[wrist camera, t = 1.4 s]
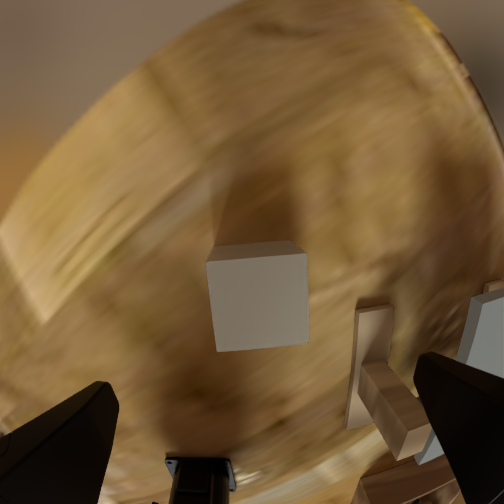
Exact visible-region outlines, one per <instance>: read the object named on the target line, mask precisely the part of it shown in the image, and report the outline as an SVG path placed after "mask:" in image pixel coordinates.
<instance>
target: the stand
mask: <svg viewBox="0 0 504 504" xmlns="http://www.w3.org/2000/svg"><path fill="white" fill-rule="evenodd" d="M500 288H504V280H501V279H499V280H496V281H492V282H488V283H484V288H483V294H484V293H487V292H490V291H494V290H497V289H500ZM393 318H394V306H392V305H391V304H385V305H379V306H374V307H367V308H361V309H355V323H354V339H353V352H352V364H351V374H350V383H349V391H348V399H347V407H346V414H345V420H344V426H345V428H346V430H348V429H353V428H357V427H361V426H365V425H368V424H372V423H375V424H376V426H377V428H378V430H379V431H380V433H381V435H382V436H383V438H384V440H385V442H386V443H387V445H388V447H389V449H390V450H391V452H392V454H393V456H394V457H395V459H396V461H398V460H401V459H403V458H406V457H409V456H411V455H414V454H416V453H419V452H421V451H422V450H423V448H424V446H425V444H426V441H427V439H428V437H429V434H430V432H431V430H432V427H431V425H430V423H429V420H428V418H427V415H426V413H425V410H424V407H423V406H422V405H421V403H420V402H419V401H418V400H417V399H416V397H415V396H414V395H413V394H412V393H411V391H410V390H409V389H408V388H407V387H406V386H405V384H404V383H403V382H402V381H401V380H400V378H399V377H398V376H397V375H396V374H395V373H394V371H393V370H392V369H391V368H390V367H389V366H388V358H389V351H390V344H391V336H392V328H393Z"/></svg>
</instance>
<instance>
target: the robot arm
mask: <svg viewBox="0 0 504 504" xmlns="http://www.w3.org/2000/svg"><path fill="white" fill-rule="evenodd" d="M413 380H414V384H415V387H416V389H417V392H418V394H419V397H420V399H421V402H422V405H423V407H424V410H425V413H426V415H427V418H428V420H429V423H430V425H431V427H432V429H433V431H434V433H435V435H436V437H437V439H438V441H439V443H440V445H441V447H442V450H443V452H444V454H445V456H446V458H447V460H448V462H449V465H450V467H451V469H452V471H453V474H454V476H455V478H456V481H457V483H458V485H459V488H460V490H461V493H462V495H463V498H464V500H465V503H466V504H504V378H502V377H499V376H496V375H493V374H491V373H488V372H485V371H483V370H480V369H477V368H475V367H472V366H469V365H467V364H464V363H461V362H459V361H456V360H453V359H451V358H448V357H446V356H443V355H440V354H438V353H435V352H432V351H430V352H426V353H423V354H421V355H420V356H419V357H418V361H417V364H416V368H415V372H414V376H413ZM118 413H119V402H118V400H117V398H116V395H115V393H114V391H113V389H112V386H111V385H110V383H108V382H103V381H96V382H94V383H92V384H91V385H89V386H87V387H86V388H84V389H82V390H81V391H79V392H78V393H76V394H74V395H73V396H71V397H69V398H68V399H66V400H64V401H63V402H61V403H60V404H58V405H56V406H55V407H53V408H51V409H50V410H48V411H46V412H45V413H43V414H41V415H39V416H38V417H36V418H34V419H33V420H31V421H29V422H28V423H26V424H24V425H22V426H21V427H19V428H17V429H16V430H14V431H12V433H9V434H7V435H5V436H3V437H2V438H0V504H97V503H98V499H99V495H100V491H101V487H102V484H103V480H104V476H105V472H106V469H107V465H108V462H109V458H110V454H111V451H112V446H113V440H114V435H115V429H116V424H117V418H118ZM165 464H166V466H167V468H168V470H169V472H170V474H171V476H172V478H173V483H172V488H171V493H170V499H169V504H229V492H235V491H236V485H235V481H234V476H233V472H232V468H231V464H230V460H228V459H226V458H218V459H199V458H173V457H167V458H166V459H165ZM152 504H158V503H156V502H152Z"/></svg>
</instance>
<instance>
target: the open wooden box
mask: <svg viewBox="0 0 504 504" xmlns="http://www.w3.org/2000/svg"><path fill="white" fill-rule="evenodd" d="M460 492H461V490H460V488H459V485H458V483H457V481H456V478H455V476H454V474H453V471H452V469H451V467H450V465H449V462H448V460H447V458H446V456H445V454H442V455H440V456H438V457H436V458H434V459H432V460H430V461H428V462H425V463H423V464H421V465H418V464H417V462H416V460H413V461H411V462H408V463H406V464H403V465H400V466H398V467H395V468H392V469H389V470H386V471H383V472H380V473H377V474H374V475H371V476H368V477H364V478H361V479H360V480H359V483H358V486H357V489H356V491H355V494H354V497H353V499H352V502H351V504H406V503H408V502H411V501H413V500H415V499H418V498H420V500H421V501H422V504H451V503H452V501H453V500H454V499H455V498H456V497H457V495H458V494H459V493H460Z"/></svg>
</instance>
